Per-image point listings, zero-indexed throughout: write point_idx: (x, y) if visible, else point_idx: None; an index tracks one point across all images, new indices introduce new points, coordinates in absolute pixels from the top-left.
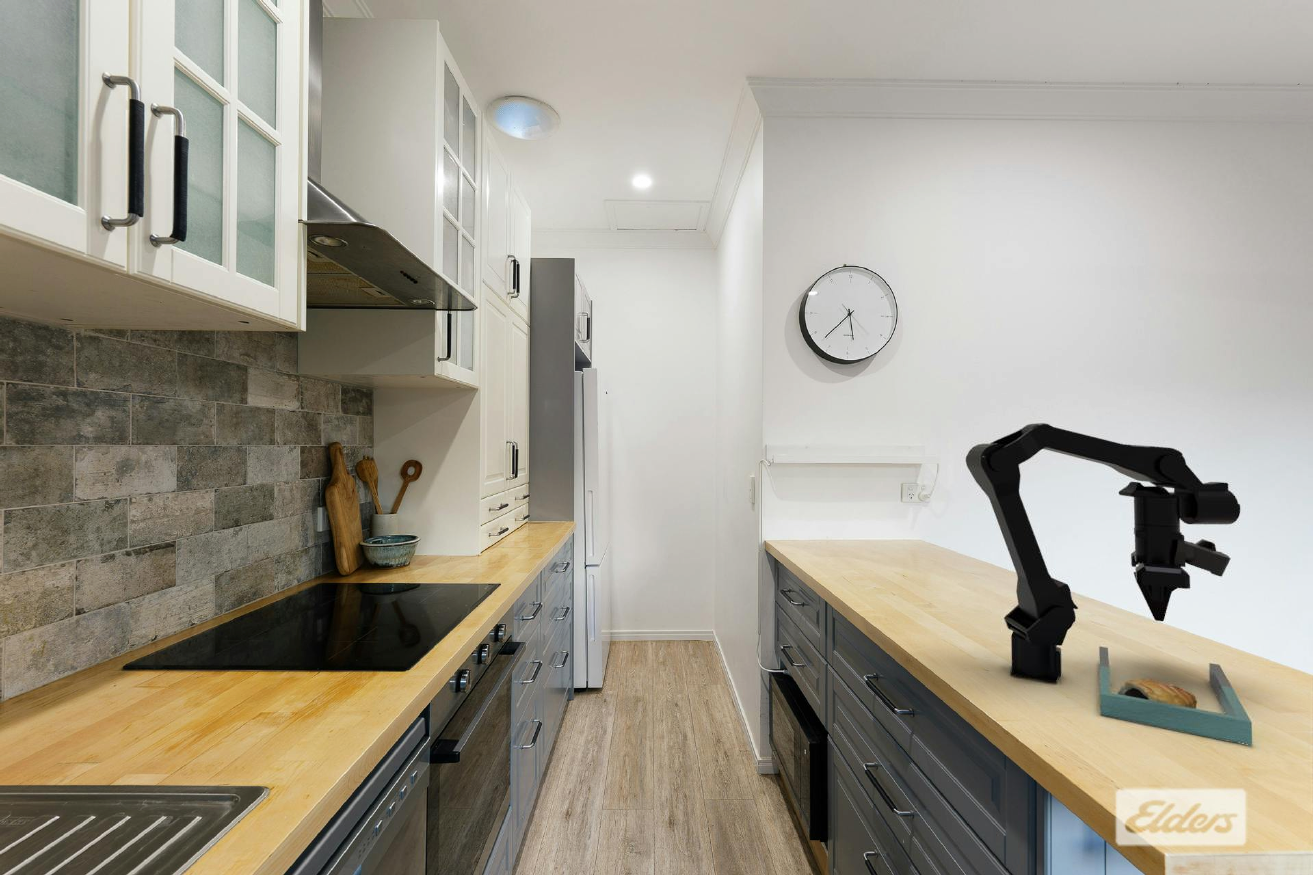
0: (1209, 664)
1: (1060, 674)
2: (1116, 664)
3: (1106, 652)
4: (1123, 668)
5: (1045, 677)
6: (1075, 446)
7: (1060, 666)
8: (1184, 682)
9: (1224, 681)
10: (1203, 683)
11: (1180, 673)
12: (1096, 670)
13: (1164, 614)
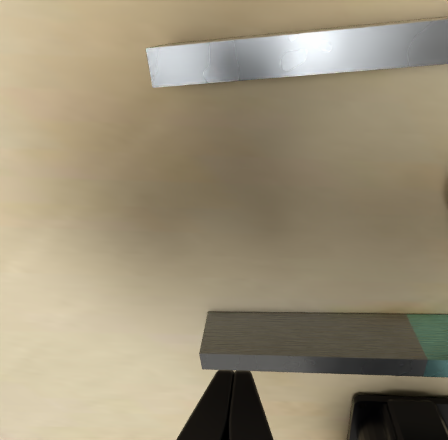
0: (162, 86)
1: (437, 408)
2: (184, 296)
3: (259, 358)
4: (210, 283)
5: (445, 419)
6: None
7: (444, 429)
8: (237, 149)
9: (426, 40)
10: (205, 95)
11: (141, 156)
12: None
13: (263, 413)
